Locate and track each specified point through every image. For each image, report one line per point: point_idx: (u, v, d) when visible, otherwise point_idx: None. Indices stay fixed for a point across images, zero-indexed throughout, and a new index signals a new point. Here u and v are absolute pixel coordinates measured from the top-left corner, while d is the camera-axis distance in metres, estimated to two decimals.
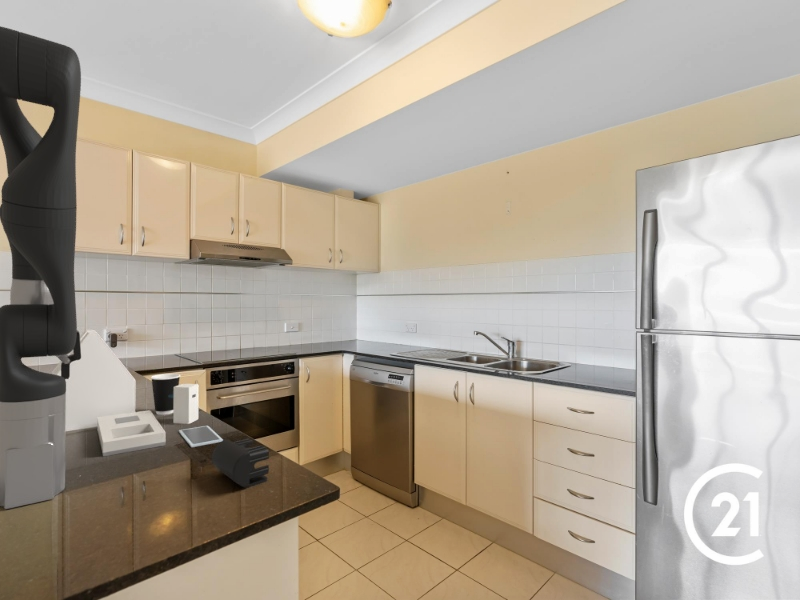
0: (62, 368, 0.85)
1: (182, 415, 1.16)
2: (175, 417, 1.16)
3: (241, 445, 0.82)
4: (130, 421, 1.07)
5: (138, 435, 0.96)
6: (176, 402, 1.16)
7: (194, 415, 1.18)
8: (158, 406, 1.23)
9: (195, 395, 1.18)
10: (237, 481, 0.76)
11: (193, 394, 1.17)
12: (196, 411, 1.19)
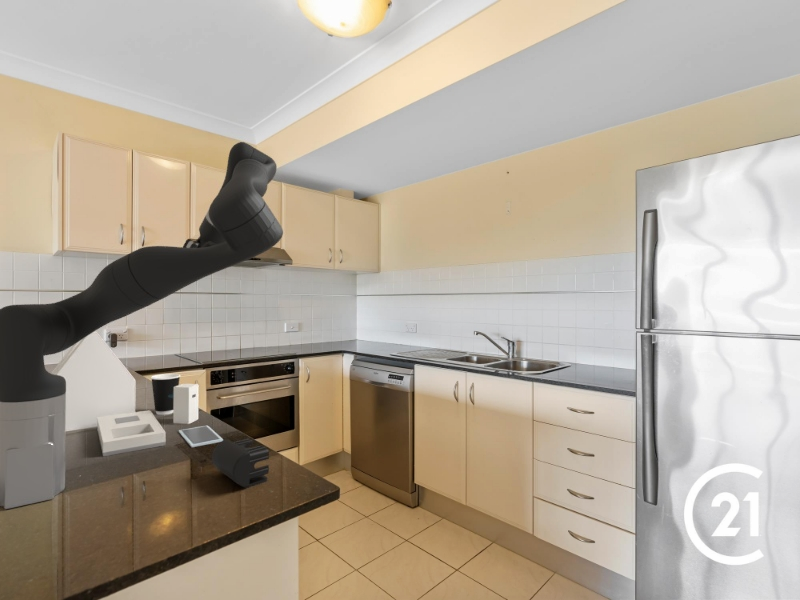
0: None
1: (182, 415, 1.16)
2: (175, 417, 1.16)
3: (241, 445, 0.82)
4: (130, 421, 1.07)
5: (138, 435, 0.96)
6: (176, 402, 1.16)
7: (194, 415, 1.18)
8: (158, 406, 1.23)
9: (195, 395, 1.18)
10: (237, 481, 0.76)
11: (193, 394, 1.17)
12: (196, 411, 1.19)
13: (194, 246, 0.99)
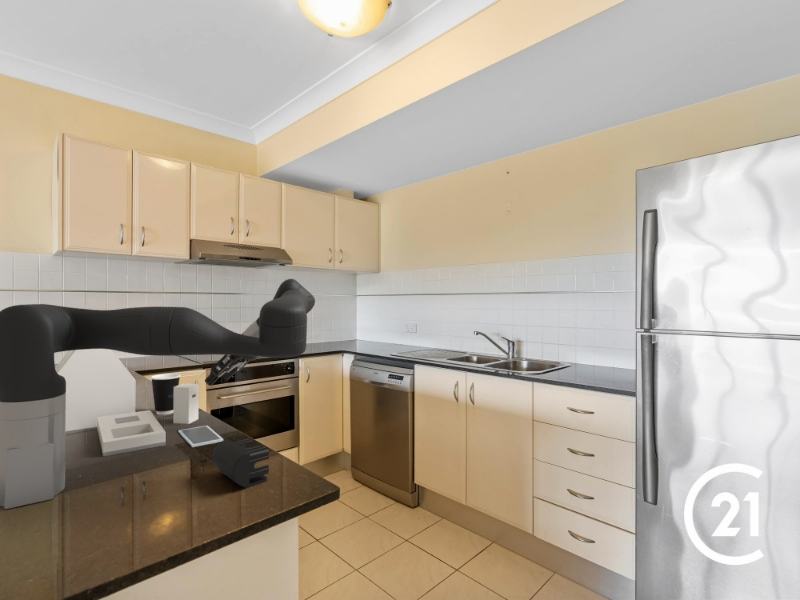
0: (233, 373, 1.21)
1: (182, 415, 1.16)
2: (175, 417, 1.16)
3: (241, 445, 0.82)
4: (130, 421, 1.07)
5: (138, 435, 0.96)
6: (176, 402, 1.16)
7: (194, 415, 1.18)
8: (158, 406, 1.23)
9: (195, 395, 1.18)
10: (237, 481, 0.76)
11: (193, 394, 1.17)
12: (196, 411, 1.19)
13: (230, 361, 1.10)
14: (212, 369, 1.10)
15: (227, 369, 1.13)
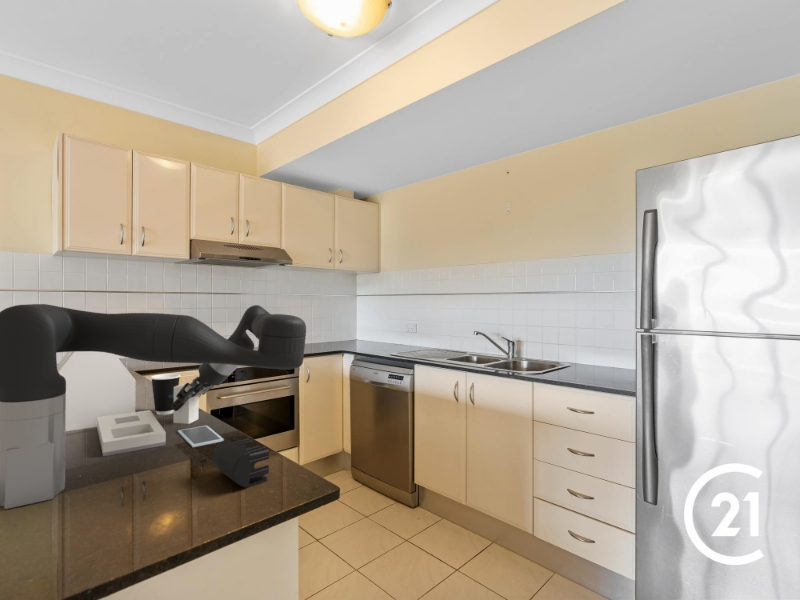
0: None
1: (182, 415, 1.16)
2: (175, 417, 1.16)
3: (241, 445, 0.82)
4: (130, 421, 1.07)
5: (138, 435, 0.96)
6: None
7: (194, 415, 1.18)
8: (158, 406, 1.23)
9: None
10: (237, 481, 0.76)
11: None
12: (196, 411, 1.19)
13: (191, 390, 1.11)
14: (177, 396, 1.12)
15: (192, 395, 1.15)
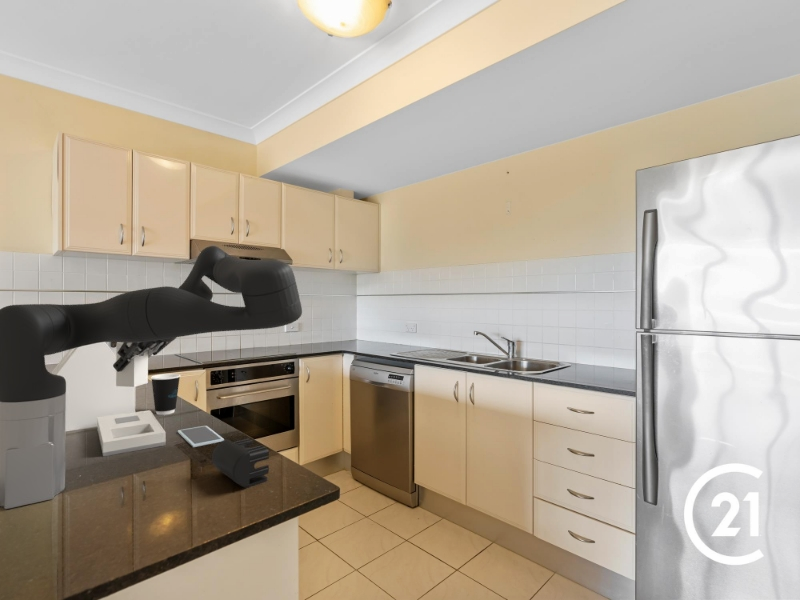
0: None
1: (126, 377, 0.97)
2: (118, 379, 0.98)
3: (241, 445, 0.82)
4: (130, 421, 1.07)
5: (138, 435, 0.96)
6: None
7: (142, 377, 1.00)
8: (158, 406, 1.23)
9: (143, 354, 1.00)
10: (237, 481, 0.76)
11: None
12: (145, 373, 1.01)
13: (135, 345, 0.93)
14: (119, 353, 0.94)
15: (137, 352, 0.96)
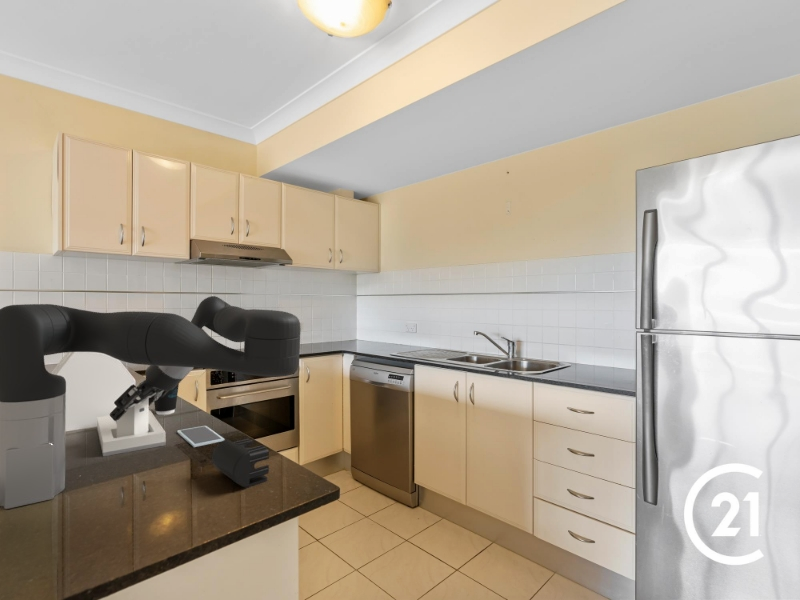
0: (150, 403, 1.04)
1: (126, 433, 0.98)
2: (119, 435, 0.98)
3: (241, 445, 0.82)
4: None
5: (138, 435, 0.96)
6: None
7: (142, 433, 1.00)
8: (158, 406, 1.23)
9: (144, 409, 1.00)
10: (237, 481, 0.76)
11: (141, 408, 0.99)
12: (145, 428, 1.01)
13: (138, 393, 0.93)
14: (116, 402, 0.93)
15: (136, 401, 0.95)
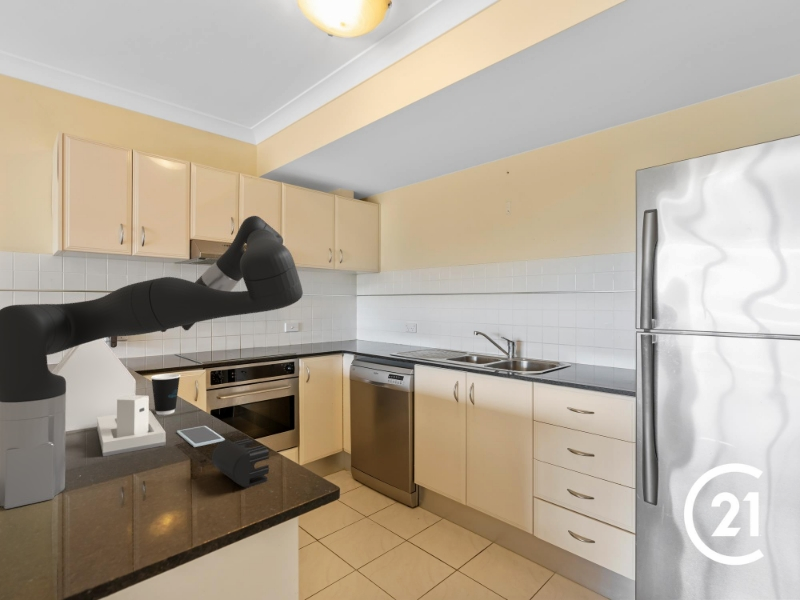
0: (193, 323, 1.10)
1: (126, 433, 0.98)
2: (119, 435, 0.98)
3: (241, 445, 0.82)
4: None
5: (138, 435, 0.96)
6: (120, 417, 0.98)
7: (142, 433, 1.00)
8: (158, 406, 1.23)
9: (144, 409, 1.00)
10: (237, 481, 0.76)
11: (141, 408, 0.99)
12: (145, 428, 1.01)
13: None
14: None
15: None
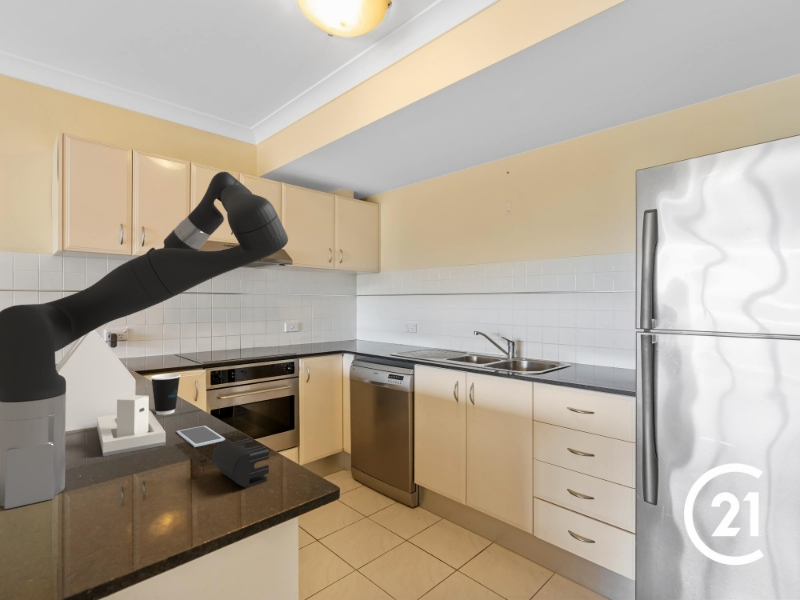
0: None
1: (126, 433, 0.98)
2: (119, 435, 0.98)
3: (241, 445, 0.82)
4: None
5: (138, 435, 0.96)
6: (120, 417, 0.98)
7: (142, 433, 1.00)
8: (158, 406, 1.23)
9: (144, 409, 1.00)
10: (237, 481, 0.76)
11: (141, 408, 0.99)
12: (145, 428, 1.01)
13: None
14: None
15: None
